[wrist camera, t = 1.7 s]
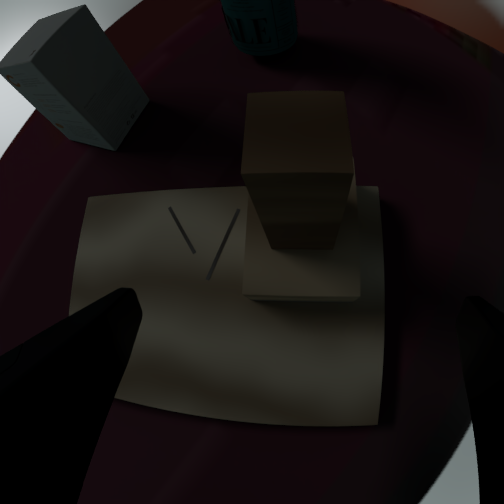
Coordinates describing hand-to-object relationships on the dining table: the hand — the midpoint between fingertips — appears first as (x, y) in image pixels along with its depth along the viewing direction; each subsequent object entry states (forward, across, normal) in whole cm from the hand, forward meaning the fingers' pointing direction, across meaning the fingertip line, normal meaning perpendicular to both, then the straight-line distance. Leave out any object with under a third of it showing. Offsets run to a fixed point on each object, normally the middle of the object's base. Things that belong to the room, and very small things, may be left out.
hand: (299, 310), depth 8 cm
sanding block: (+11, 0, +4) cm, 12 cm away
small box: (+22, +19, -4) cm, 29 cm away
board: (+10, +6, +8) cm, 14 cm away
